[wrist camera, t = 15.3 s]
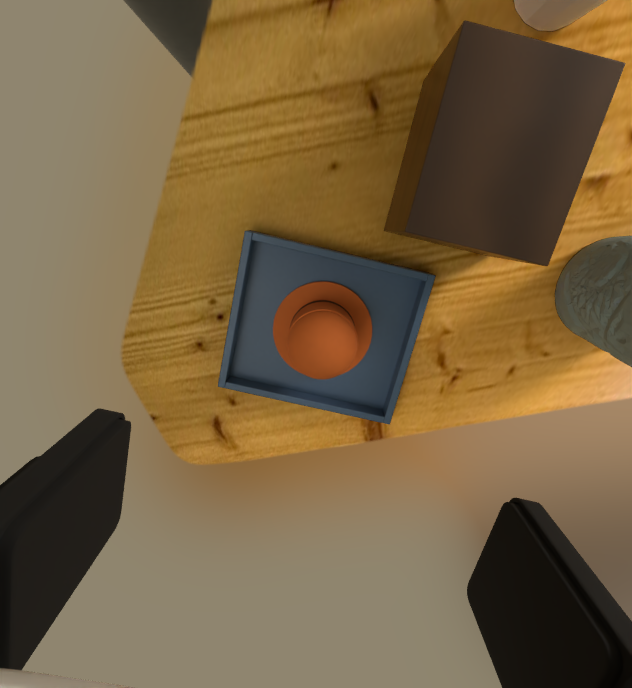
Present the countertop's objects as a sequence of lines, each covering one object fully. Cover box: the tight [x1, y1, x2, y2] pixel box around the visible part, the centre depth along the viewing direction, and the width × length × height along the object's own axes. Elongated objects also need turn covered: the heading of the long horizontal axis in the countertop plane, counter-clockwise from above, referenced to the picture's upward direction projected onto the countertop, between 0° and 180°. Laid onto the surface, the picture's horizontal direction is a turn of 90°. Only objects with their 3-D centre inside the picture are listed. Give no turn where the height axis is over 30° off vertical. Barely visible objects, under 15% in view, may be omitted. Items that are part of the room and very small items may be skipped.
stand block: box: [384, 21, 625, 266], centre depth 27 cm, size 9×11×9 cm
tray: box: [218, 230, 435, 424], centre depth 34 cm, size 15×13×2 cm
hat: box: [273, 281, 372, 379], centre depth 32 cm, size 8×8×7 cm
